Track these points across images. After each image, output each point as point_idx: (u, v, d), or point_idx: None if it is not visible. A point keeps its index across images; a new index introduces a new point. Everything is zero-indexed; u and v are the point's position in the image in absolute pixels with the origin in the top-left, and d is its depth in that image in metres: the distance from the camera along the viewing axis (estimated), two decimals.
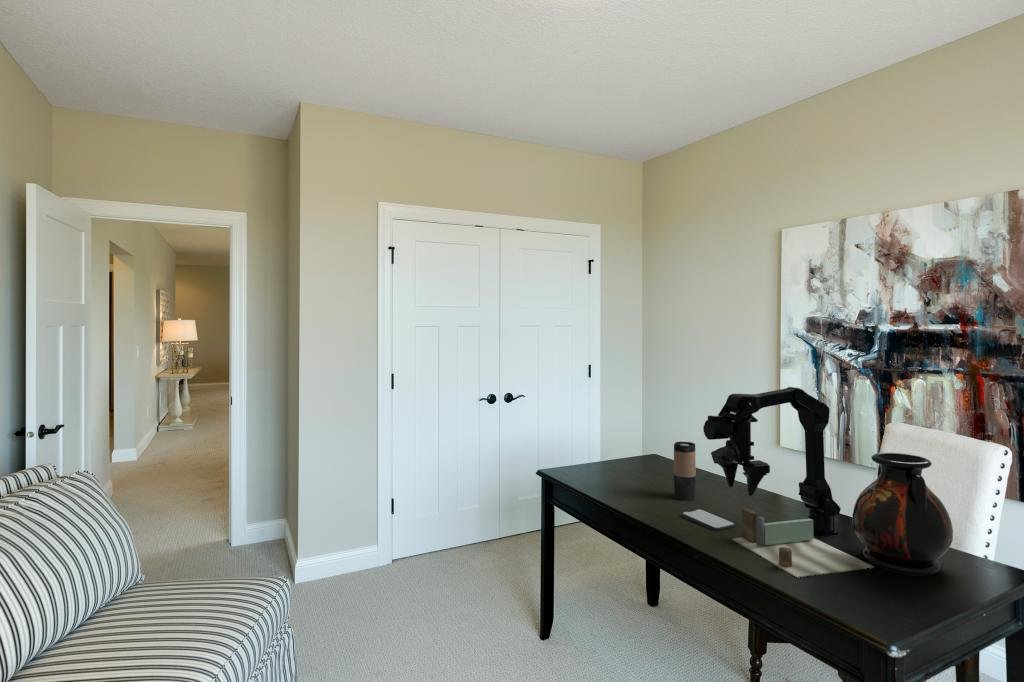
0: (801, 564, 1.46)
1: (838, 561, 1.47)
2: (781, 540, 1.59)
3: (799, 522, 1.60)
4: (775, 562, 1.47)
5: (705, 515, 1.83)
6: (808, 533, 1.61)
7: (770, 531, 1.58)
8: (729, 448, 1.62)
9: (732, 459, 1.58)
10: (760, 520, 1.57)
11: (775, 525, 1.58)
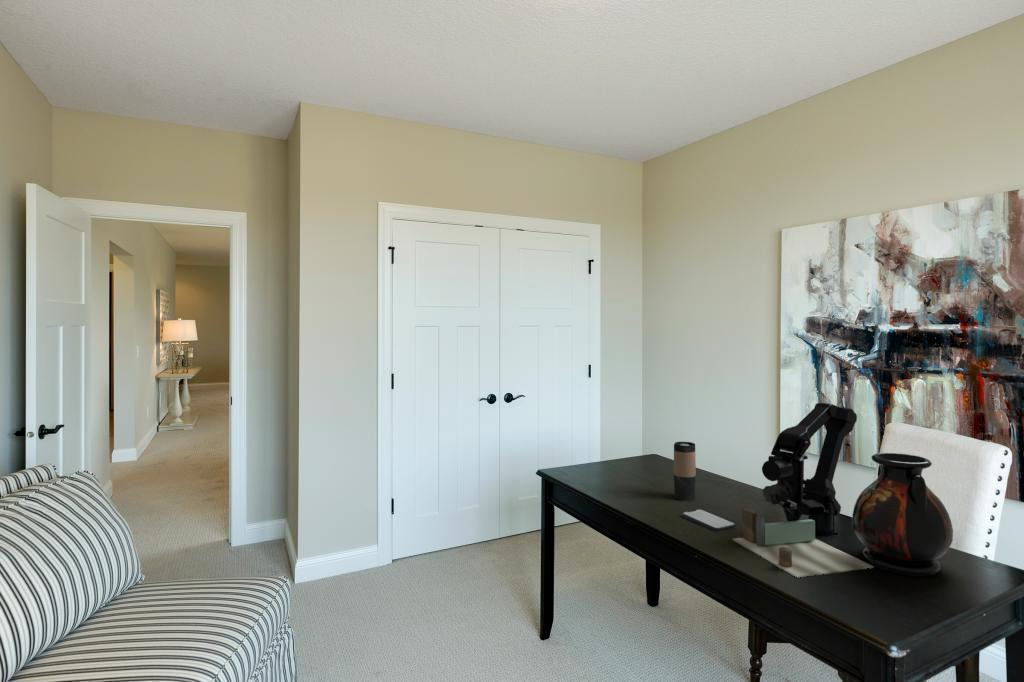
0: (801, 564, 1.46)
1: (838, 561, 1.47)
2: (781, 541, 1.59)
3: (800, 523, 1.60)
4: (775, 562, 1.47)
5: (705, 515, 1.83)
6: (809, 534, 1.60)
7: (770, 531, 1.58)
8: (782, 486, 1.61)
9: (785, 498, 1.57)
10: (760, 520, 1.57)
11: (775, 525, 1.58)
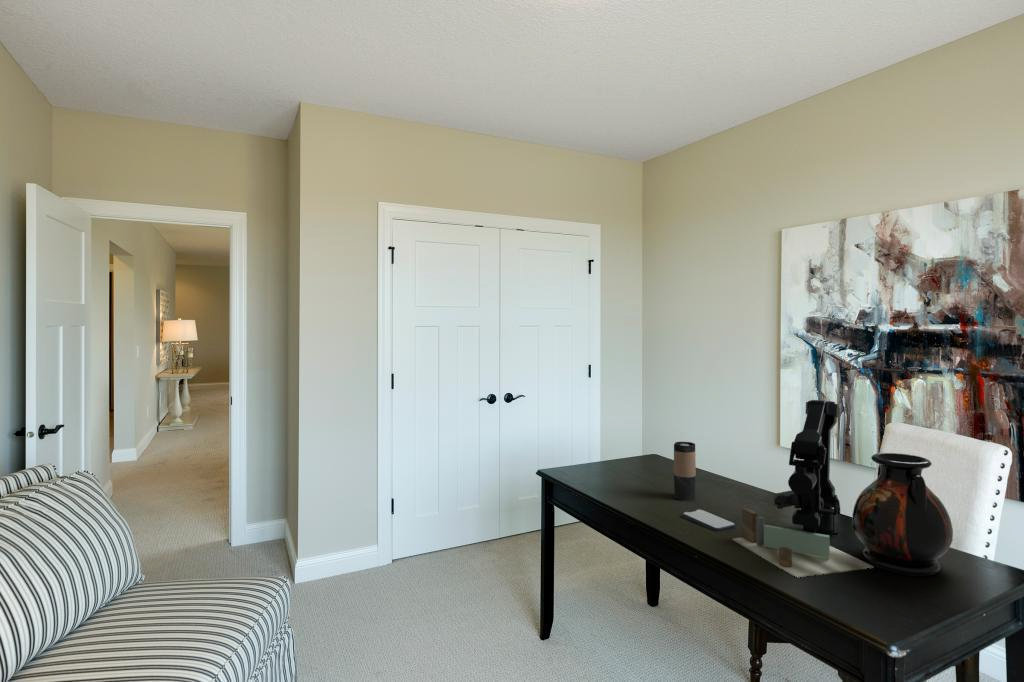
0: (801, 564, 1.46)
1: (838, 561, 1.47)
2: None
3: (809, 534, 1.51)
4: (775, 562, 1.47)
5: (705, 515, 1.83)
6: (821, 550, 1.49)
7: (770, 533, 1.56)
8: (791, 493, 1.55)
9: (784, 504, 1.53)
10: (757, 519, 1.58)
11: (776, 529, 1.55)
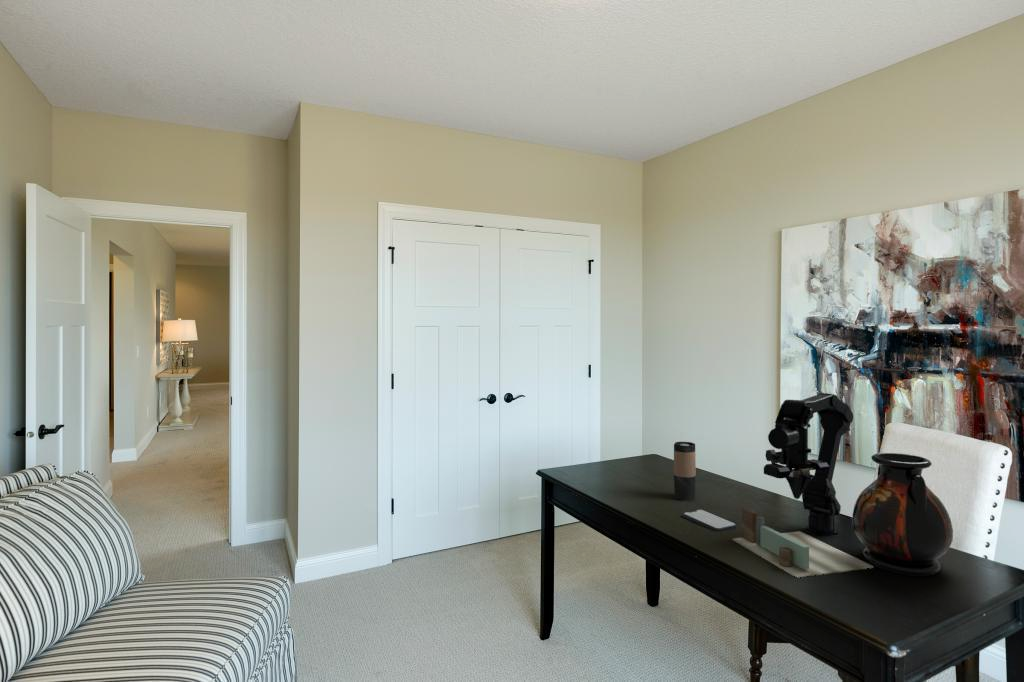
0: None
1: (838, 561, 1.47)
2: (773, 550, 1.52)
3: (790, 541, 1.46)
4: (775, 562, 1.47)
5: (706, 515, 1.83)
6: (799, 559, 1.43)
7: (764, 535, 1.55)
8: None
9: (770, 458, 1.64)
10: (756, 519, 1.58)
11: (768, 531, 1.54)
